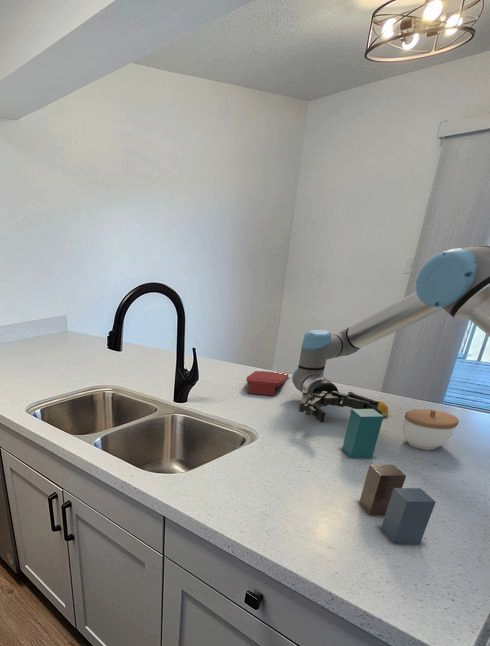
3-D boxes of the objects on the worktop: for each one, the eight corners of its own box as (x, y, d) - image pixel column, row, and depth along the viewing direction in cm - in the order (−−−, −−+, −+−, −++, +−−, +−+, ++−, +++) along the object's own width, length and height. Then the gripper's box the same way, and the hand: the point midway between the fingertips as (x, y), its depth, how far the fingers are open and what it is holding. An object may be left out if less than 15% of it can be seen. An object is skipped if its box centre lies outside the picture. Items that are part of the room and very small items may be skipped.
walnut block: (382, 502, 89) (393, 464, 85) (393, 515, 85) (406, 475, 81) (358, 502, 90) (369, 464, 86) (369, 515, 86) (380, 475, 82)
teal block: (362, 449, 111) (373, 408, 106) (372, 458, 106) (383, 416, 101) (341, 449, 111) (351, 409, 106) (350, 458, 107) (361, 416, 102)
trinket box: (423, 456, 106) (435, 420, 101) (387, 439, 115) (397, 405, 111) (459, 450, 107) (473, 415, 103) (421, 433, 117) (432, 400, 113)
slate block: (406, 529, 81) (420, 488, 77) (420, 544, 77) (436, 501, 73) (380, 528, 82) (393, 487, 78) (393, 543, 78) (407, 501, 74)
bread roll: (393, 416, 128) (397, 403, 126) (365, 419, 127) (368, 407, 125) (372, 407, 135) (375, 394, 134) (346, 410, 134) (349, 397, 133)
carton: (253, 383, 174) (242, 392, 153) (255, 370, 172) (244, 378, 151) (286, 386, 168) (279, 396, 147) (288, 373, 166) (281, 381, 146)
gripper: (361, 402, 131) (398, 430, 112) (274, 403, 134) (297, 431, 115) (367, 378, 127) (407, 402, 109) (278, 379, 130) (302, 404, 112)
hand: (350, 417), depth 112 cm, fingers open, 13 cm apart
